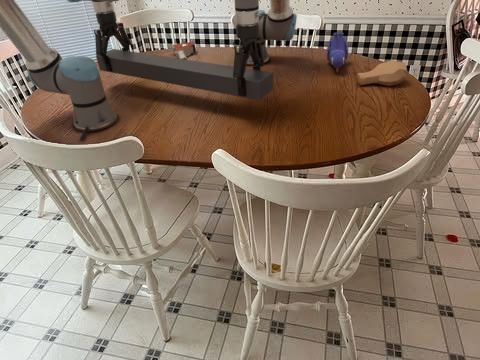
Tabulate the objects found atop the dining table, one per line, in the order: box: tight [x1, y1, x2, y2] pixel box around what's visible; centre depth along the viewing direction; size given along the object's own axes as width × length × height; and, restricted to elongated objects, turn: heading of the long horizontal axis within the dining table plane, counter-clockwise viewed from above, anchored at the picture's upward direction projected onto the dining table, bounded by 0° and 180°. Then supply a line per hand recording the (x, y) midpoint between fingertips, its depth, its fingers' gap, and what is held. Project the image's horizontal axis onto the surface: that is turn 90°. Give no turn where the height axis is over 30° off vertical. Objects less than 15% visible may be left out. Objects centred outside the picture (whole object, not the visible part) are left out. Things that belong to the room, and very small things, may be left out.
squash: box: [356, 59, 408, 87], centre depth 147 cm, size 11×20×9 cm, turn 92°
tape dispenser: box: [170, 41, 197, 60], centre depth 192 cm, size 18×5×20 cm
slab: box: [95, 48, 274, 101], centre depth 140 cm, size 79×10×6 cm, turn 59°
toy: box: [326, 31, 349, 74], centre depth 163 cm, size 10×17×25 cm
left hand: (118, 66), depth 155 cm, fingers closed on slab, 10 cm apart
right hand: (249, 89), depth 127 cm, fingers closed on slab, 10 cm apart
